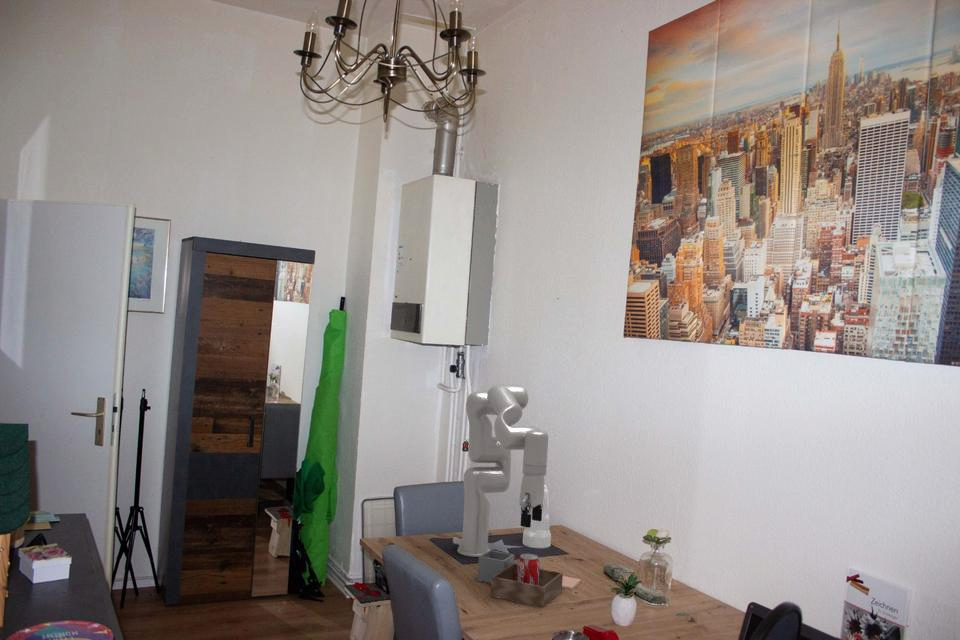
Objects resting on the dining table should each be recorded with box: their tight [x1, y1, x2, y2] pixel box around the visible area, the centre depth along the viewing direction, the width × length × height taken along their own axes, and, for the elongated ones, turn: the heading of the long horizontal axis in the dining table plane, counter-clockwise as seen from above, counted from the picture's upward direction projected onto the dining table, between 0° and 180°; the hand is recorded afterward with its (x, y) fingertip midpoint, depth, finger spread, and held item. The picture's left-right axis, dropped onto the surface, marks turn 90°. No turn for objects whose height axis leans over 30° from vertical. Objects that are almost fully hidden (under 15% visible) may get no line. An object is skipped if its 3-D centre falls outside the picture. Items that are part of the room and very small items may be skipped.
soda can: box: [516, 553, 541, 586], centre depth 254 cm, size 7×7×12 cm
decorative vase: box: [522, 484, 552, 549], centre depth 313 cm, size 11×11×25 cm
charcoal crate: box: [477, 549, 515, 584], centre depth 267 cm, size 9×9×8 cm
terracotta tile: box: [562, 575, 582, 591], centre depth 267 cm, size 10×10×1 cm
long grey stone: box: [603, 561, 666, 604], centre depth 270 cm, size 35×5×10 cm
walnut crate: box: [490, 562, 564, 608], centre depth 254 cm, size 17×17×6 cm
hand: (531, 523), depth 255 cm, fingers open, 9 cm apart
